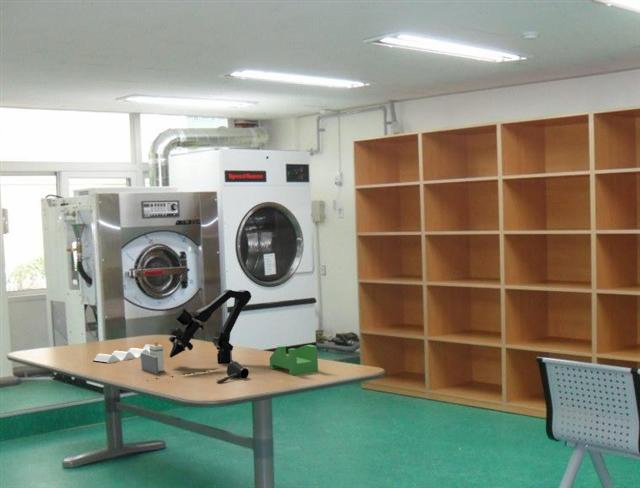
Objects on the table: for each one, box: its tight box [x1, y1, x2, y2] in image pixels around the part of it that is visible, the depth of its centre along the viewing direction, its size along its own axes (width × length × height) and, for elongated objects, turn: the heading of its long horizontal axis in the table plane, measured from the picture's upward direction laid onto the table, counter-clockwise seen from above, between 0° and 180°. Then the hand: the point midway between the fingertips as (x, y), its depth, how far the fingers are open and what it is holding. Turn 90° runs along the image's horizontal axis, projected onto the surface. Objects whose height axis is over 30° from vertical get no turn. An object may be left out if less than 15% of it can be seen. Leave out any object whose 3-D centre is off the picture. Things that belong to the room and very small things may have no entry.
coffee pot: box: [215, 360, 250, 385], centre depth 381 cm, size 8×18×8 cm
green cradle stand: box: [269, 344, 319, 376], centre depth 396 cm, size 24×13×12 cm, turn 28°
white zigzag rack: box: [92, 343, 151, 364], centre depth 464 cm, size 13×35×5 cm, turn 137°
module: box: [149, 341, 165, 372], centre depth 410 cm, size 4×7×14 cm, turn 31°
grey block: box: [140, 353, 160, 375], centre depth 411 cm, size 14×20×9 cm
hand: (170, 357), depth 414 cm, fingers closed
